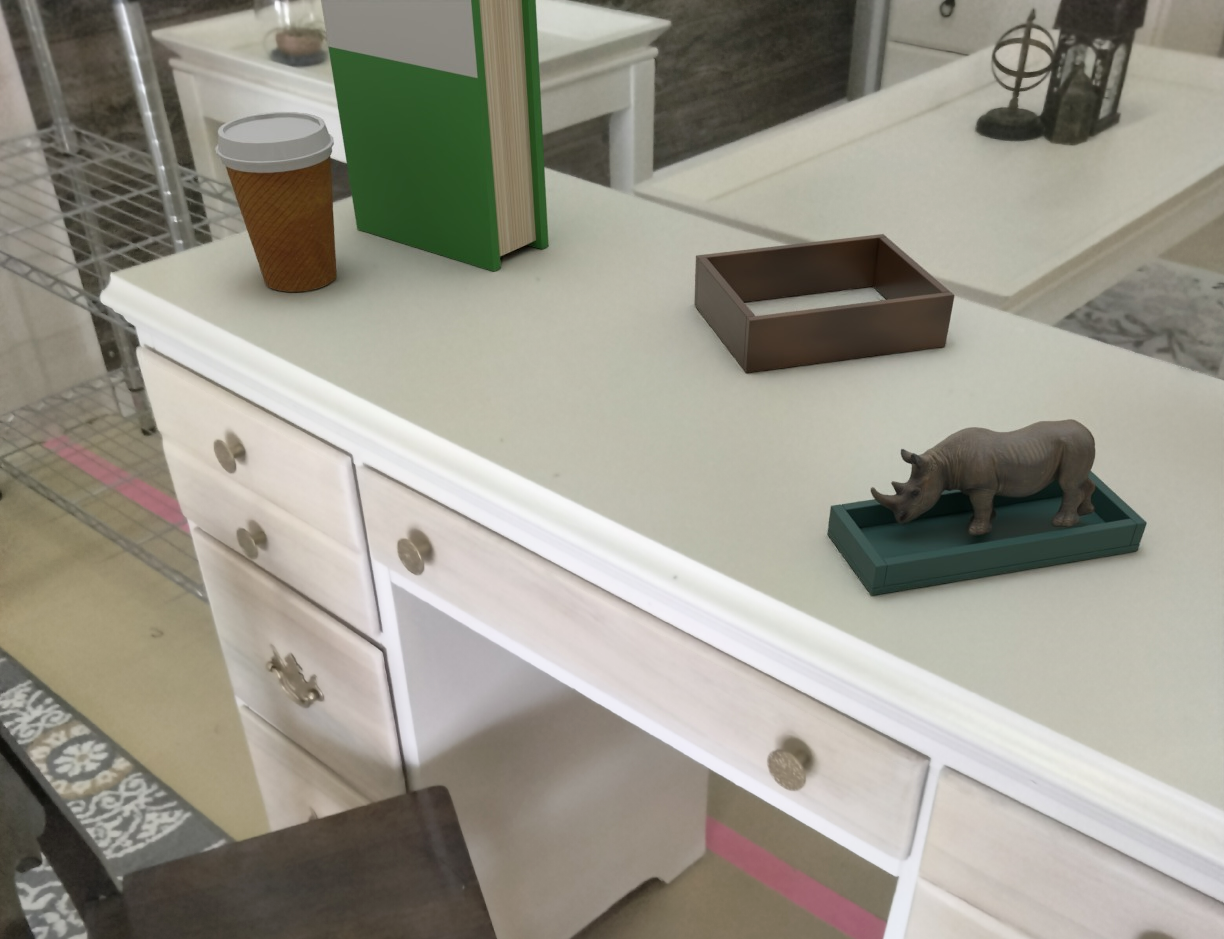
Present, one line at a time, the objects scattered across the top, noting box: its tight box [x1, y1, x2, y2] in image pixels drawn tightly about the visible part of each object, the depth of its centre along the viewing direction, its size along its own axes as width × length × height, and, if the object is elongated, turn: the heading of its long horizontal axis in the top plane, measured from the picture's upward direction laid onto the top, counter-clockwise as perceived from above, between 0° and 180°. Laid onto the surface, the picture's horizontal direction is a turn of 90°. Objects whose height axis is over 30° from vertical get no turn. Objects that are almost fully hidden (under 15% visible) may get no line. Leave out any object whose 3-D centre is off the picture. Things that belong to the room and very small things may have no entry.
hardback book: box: [320, 0, 549, 272], centre depth 104 cm, size 18×7×24 cm, turn 51°
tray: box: [827, 470, 1148, 596], centre depth 74 cm, size 17×7×2 cm, turn 104°
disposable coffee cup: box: [215, 111, 338, 293], centre depth 102 cm, size 10×10×12 cm
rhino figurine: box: [870, 418, 1096, 535], centre depth 72 cm, size 4×14×6 cm, turn 90°
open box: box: [693, 233, 955, 374], centre depth 96 cm, size 16×13×4 cm
